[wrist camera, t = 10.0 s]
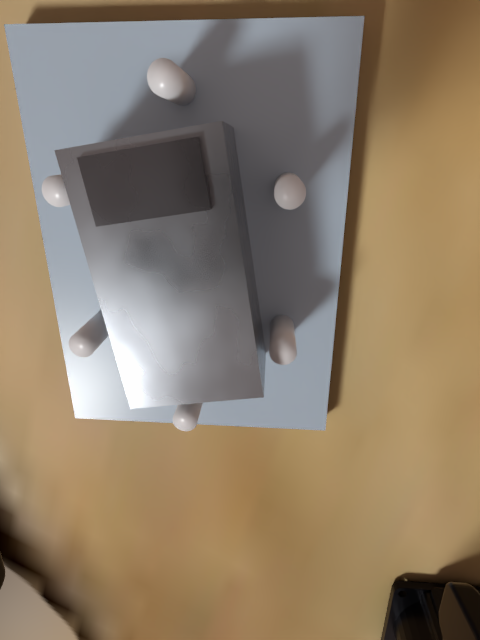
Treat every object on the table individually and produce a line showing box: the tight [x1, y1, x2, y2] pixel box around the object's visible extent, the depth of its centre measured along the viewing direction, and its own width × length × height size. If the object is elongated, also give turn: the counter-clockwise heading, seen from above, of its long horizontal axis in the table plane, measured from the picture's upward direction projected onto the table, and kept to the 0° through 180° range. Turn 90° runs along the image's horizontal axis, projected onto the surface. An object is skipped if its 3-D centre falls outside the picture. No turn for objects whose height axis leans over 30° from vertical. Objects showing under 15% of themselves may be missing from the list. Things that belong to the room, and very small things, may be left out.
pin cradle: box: [4, 16, 365, 431], centre depth 16 cm, size 16×12×4 cm
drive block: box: [54, 121, 266, 409], centre depth 15 cm, size 9×5×4 cm, turn 9°
